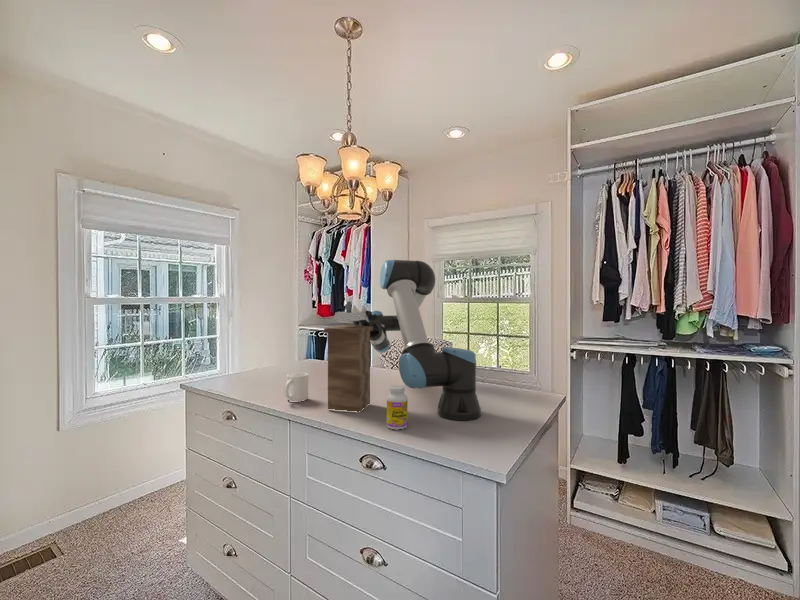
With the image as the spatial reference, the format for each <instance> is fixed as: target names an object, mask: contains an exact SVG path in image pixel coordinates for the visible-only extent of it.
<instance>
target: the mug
mask: <svg viewBox="0 0 800 600" xmlns="http://www.w3.org/2000/svg"><path fill="white" fill-rule="evenodd" d="M284 395H285V398H286V400H289V401H302V400H306V399H308V400H309V373H307V372H291V373H287V374H286V384H285V386H284Z"/></svg>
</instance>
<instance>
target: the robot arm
mask: <svg viewBox="0 0 800 600" xmlns="http://www.w3.org/2000/svg"><path fill="white" fill-rule="evenodd" d="M380 269H381V270H380V274H379V286H380V288H381V289H383V290H386V292H387V294H388V296H389V297H391V298H392V300H393V305H394V308H395V313H396V315H384V314H383V312H382V311H380V310H373V311H369V310H368V309H367V308H366V306H365V305H364V304H363V305H361V309H360V311H361V312H365V320H359V321H352V322H353V326H373V330H372V331H370V345H371V346H372V347H373V348H374V350H375V351H376V352H378V353H381V354H382V353H385V352H387V351H388V350H389V349H390V345H391V344H390V340H389V338H388V335H387V332H397V331H399V332H400V334H401V338H402V342H403V345H404V349H403V350H402V352H401V355H400V357H399V359H398V366H399V368H398V370H399V371H398V372H399V374H400V378H401V380H402V382H403V383H404V385H405V386H406V387H408V388H409V389H425V388H433V387H436V388H437V387H442V391H441V395H440V398H439V402H438V405H437V415H438V416H439V417H441V418H444V419H446V420H447V419H448V420H452V421H473V420H475V419H479V418H480V417H481V415H482V410H481V406H480V402H479V399H478V396H477V392H476V390H477V388H476V387H477V385H476V383H477V382H476V381H477V376H476V375H477V358H476V353H475V352H474V351H472V350H470V349H465V348H459V347H446V346H444V347H442V349H441V351H438V352H436V350H435V349H436V348H435V346H434V344H433V343H431V342H429V340H428V337H427V333H426V329H425V326H424V322H423V320H422V316H421V312H420V307H421V305H422V304H423V302H424V301H425V299H426V297H427V296H429V295H431V293H432V291H433V290H434V288H435V286H436V274H435V271H434V270H433V268H432V267H431V265H429V264H428V263H427V262H425V261H421V260H408V259H407V260H403V259H402V260H401V259H387V260H385V261H384V262H383V263H382V266H381V268H380ZM352 312H359V309H358V307H357V305H355V304H354V305H352Z"/></svg>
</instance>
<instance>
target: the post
mask: <svg viewBox="0 0 800 600" xmlns="http://www.w3.org/2000/svg"><path fill="white" fill-rule="evenodd" d="M372 330H373V326H355V325H336V326H330V327H324V328H323V333H324V334H325V333H327V410H328V409H335V410H347V411H357V412H359V411H361V410H362V409H363V408H365V407H366V406H367V405H368V404H370V405H371V343H370V331H372ZM368 406H369V405H368ZM368 406H367V407H368ZM367 407H366V408H367ZM366 408H365V409H366ZM362 411H363V410H362ZM362 411H361V412H362Z"/></svg>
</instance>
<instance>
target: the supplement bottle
mask: <svg viewBox="0 0 800 600" xmlns="http://www.w3.org/2000/svg"><path fill="white" fill-rule="evenodd" d="M405 391H406V390H405V386H404V385H398V384H396V385H390V386H389V394H387V396H386V427H387V429H389V428H391V429H390V430H392V429H402V430H405V429H407V427H408V400H409V399H408V396H407V394H405ZM404 428H405V429H404Z"/></svg>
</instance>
